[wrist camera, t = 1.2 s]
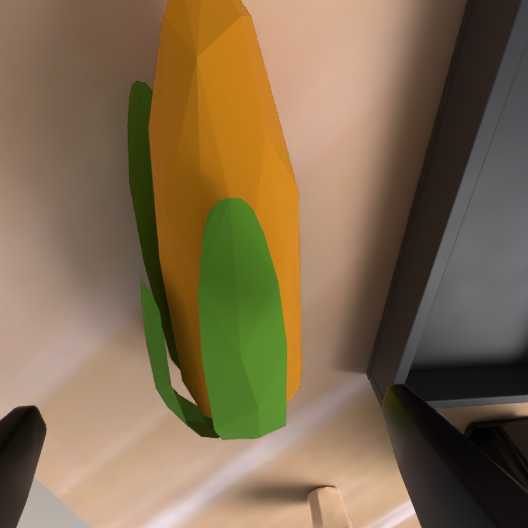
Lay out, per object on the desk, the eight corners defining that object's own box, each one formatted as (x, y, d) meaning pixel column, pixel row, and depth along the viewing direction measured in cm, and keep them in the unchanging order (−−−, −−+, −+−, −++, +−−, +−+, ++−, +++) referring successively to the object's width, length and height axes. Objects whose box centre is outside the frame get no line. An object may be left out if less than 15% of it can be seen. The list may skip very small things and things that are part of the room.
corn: (170, 507, 16) (-71, -108, 5) (177, 376, 22) (75, -20, 12) (325, 476, 17) (383, -106, 6) (289, 359, 23) (288, -25, 13)
